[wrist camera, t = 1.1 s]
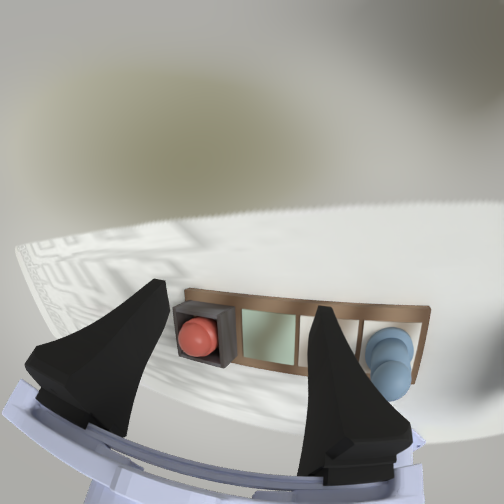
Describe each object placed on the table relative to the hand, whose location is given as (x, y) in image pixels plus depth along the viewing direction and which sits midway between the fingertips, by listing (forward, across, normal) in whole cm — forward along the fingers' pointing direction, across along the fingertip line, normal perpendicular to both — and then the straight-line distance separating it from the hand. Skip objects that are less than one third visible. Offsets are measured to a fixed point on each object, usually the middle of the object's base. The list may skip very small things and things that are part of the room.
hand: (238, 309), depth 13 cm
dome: (+9, +5, +14) cm, 17 cm away
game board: (+9, -5, +12) cm, 16 cm away
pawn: (+6, -13, +9) cm, 17 cm away
